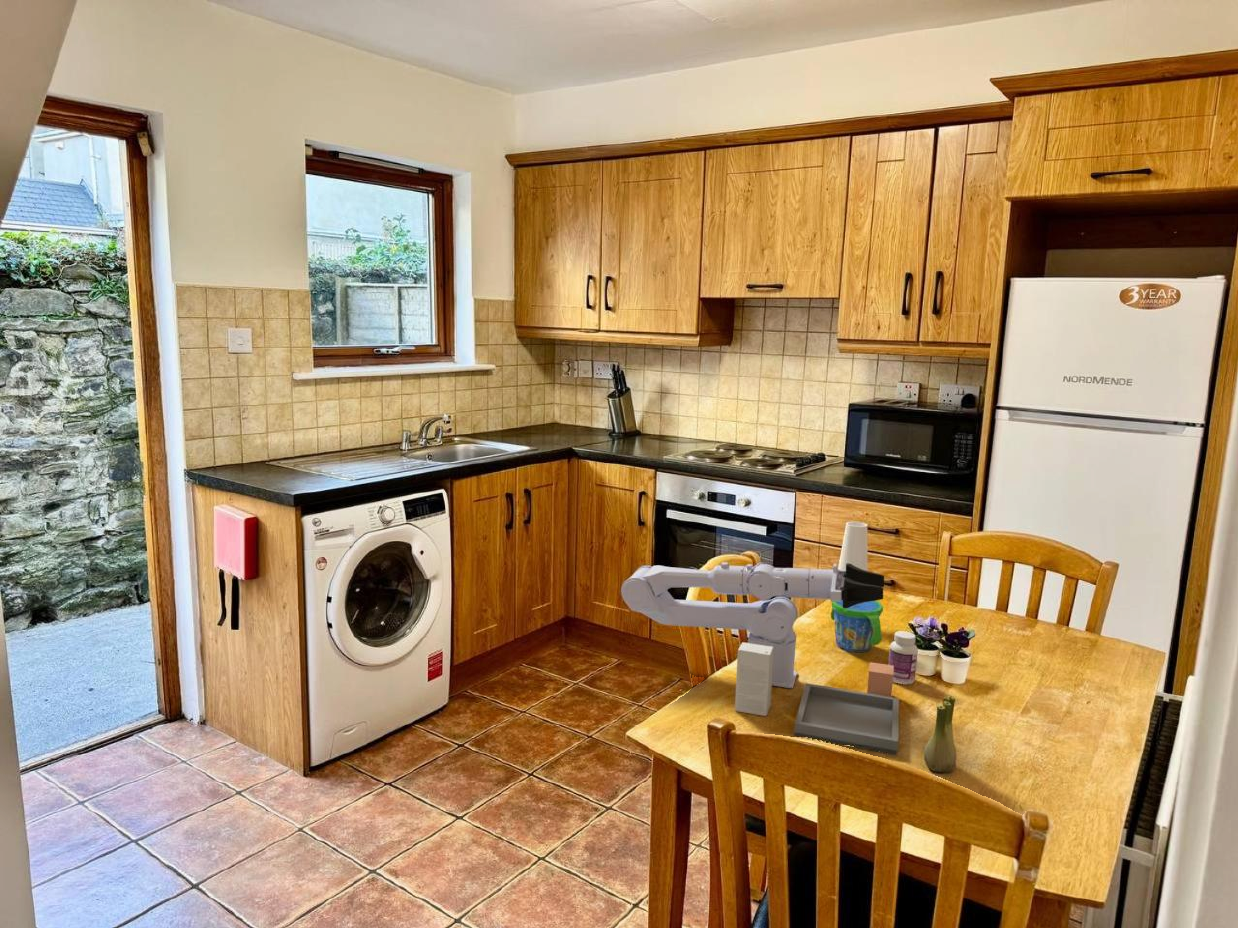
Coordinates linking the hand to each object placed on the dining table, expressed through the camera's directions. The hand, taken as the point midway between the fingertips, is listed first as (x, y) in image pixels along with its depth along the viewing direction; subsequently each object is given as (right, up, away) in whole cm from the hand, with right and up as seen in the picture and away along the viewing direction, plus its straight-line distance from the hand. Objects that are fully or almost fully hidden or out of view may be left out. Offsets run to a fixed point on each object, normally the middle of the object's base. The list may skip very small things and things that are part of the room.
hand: (883, 586), depth 161 cm
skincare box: (-25, -22, -4) cm, 34 cm away
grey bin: (-9, -23, -8) cm, 26 cm away
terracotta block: (0, -22, +3) cm, 22 cm away
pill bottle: (+7, -20, +11) cm, 24 cm away
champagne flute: (+4, -14, +42) cm, 44 cm away
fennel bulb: (+2, -27, -22) cm, 34 cm away
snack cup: (+2, -17, +27) cm, 32 cm away
